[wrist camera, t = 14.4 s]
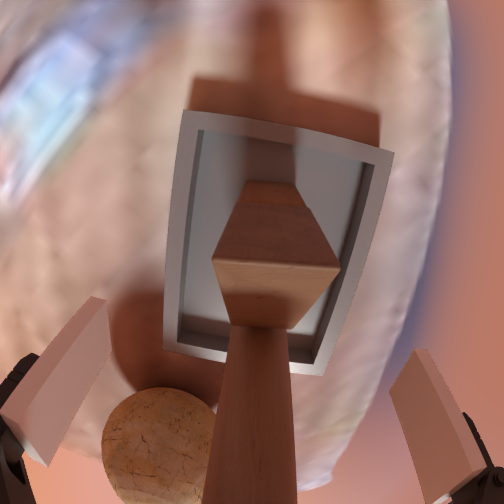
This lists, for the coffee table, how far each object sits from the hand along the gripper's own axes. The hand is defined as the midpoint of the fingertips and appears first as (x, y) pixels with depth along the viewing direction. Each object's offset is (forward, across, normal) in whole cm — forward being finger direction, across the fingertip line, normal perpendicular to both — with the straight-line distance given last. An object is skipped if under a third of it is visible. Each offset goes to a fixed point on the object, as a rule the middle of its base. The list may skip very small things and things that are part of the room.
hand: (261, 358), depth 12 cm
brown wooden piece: (+12, 0, 0) cm, 12 cm away
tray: (+13, 0, -1) cm, 13 cm away
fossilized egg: (+13, -6, -21) cm, 25 cm away
